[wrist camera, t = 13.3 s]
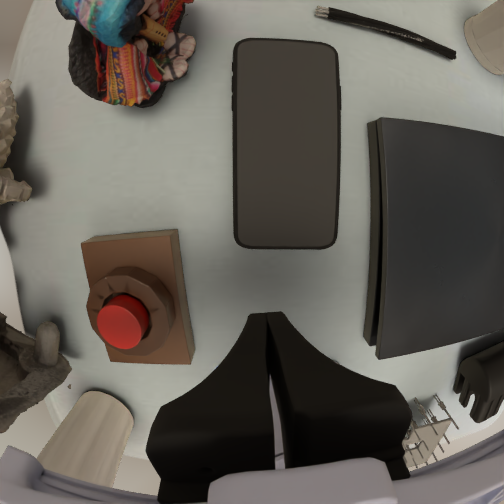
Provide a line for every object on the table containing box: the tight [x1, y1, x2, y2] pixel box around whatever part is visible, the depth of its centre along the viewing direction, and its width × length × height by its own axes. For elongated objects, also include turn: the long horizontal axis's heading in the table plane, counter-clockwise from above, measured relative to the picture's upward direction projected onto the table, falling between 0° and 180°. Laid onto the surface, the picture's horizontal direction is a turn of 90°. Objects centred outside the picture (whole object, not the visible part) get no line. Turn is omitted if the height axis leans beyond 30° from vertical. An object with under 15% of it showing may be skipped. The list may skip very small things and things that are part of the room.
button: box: [97, 295, 149, 349], centre depth 18 cm, size 3×3×2 cm
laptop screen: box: [375, 117, 504, 360], centre depth 19 cm, size 17×22×1 cm
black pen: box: [316, 6, 456, 60], centre depth 17 cm, size 12×1×1 cm, turn 84°
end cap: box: [453, 341, 504, 423], centre depth 22 cm, size 10×7×7 cm
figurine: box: [55, 0, 196, 108], centre depth 11 cm, size 10×7×15 cm
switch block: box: [81, 229, 195, 364], centre depth 21 cm, size 10×7×4 cm
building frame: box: [402, 395, 459, 468], centre depth 24 cm, size 6×8×6 cm
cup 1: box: [37, 391, 134, 488], centre depth 19 cm, size 8×8×14 cm
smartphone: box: [232, 38, 341, 250], centre depth 19 cm, size 7×1×15 cm
